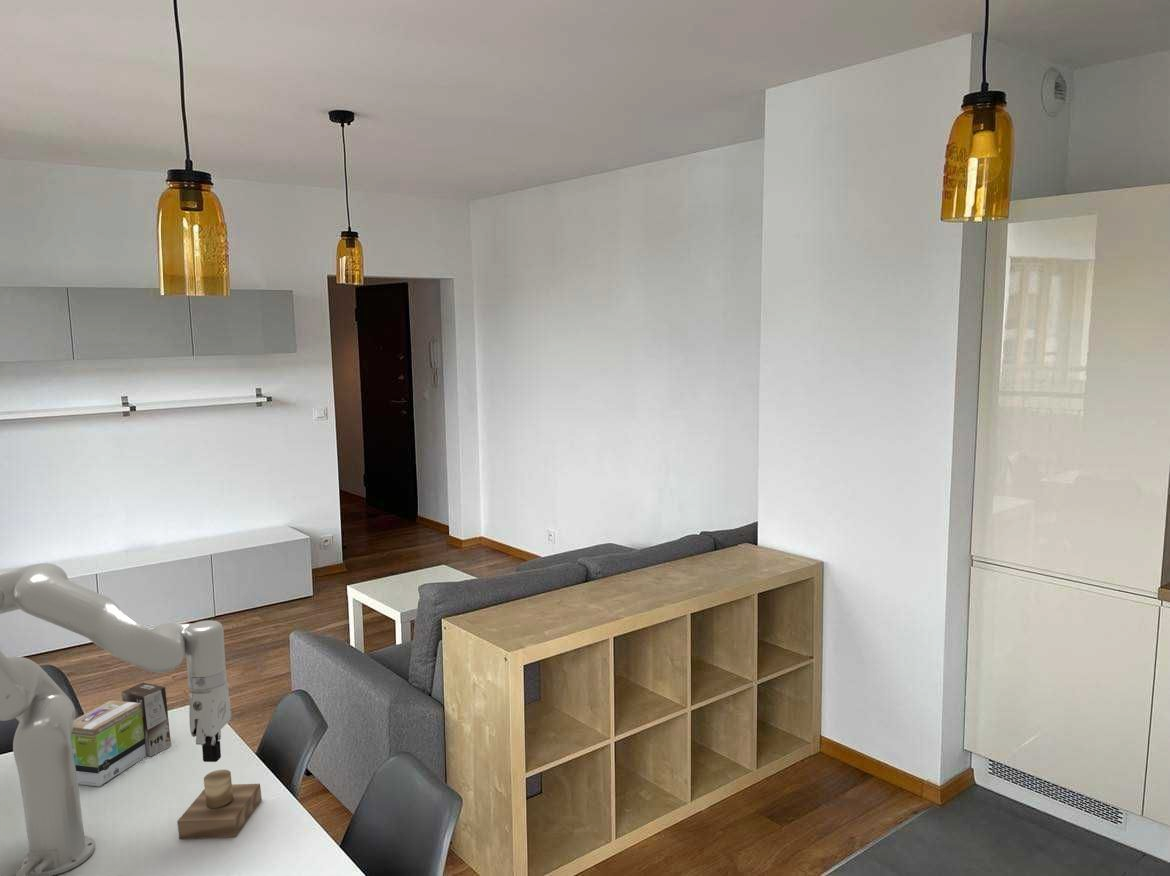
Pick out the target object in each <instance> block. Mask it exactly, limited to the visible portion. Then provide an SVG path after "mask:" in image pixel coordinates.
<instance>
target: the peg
mask: <svg viewBox="0 0 1170 876" xmlns="http://www.w3.org/2000/svg"><path fill="white" fill-rule="evenodd" d="M231 773H232V772H231V771H230V770H229V769H217V770H213V771H211V772H208V774H206V775H205V776H204V777H203V784H204V786H203V787H204V789H205V796H206V806H207V807H208V808H210V809H218V808H222V807H226V806H227V805H229V804H230V803H231V802H232V801H233V791H232V785H233V782H232V774H231Z"/></svg>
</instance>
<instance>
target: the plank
mask: <svg viewBox="0 0 1170 876" xmlns="http://www.w3.org/2000/svg"><path fill="white" fill-rule="evenodd" d="M232 791H233V801H232V802H231V803H230V804H229V805H227V806H226V807H222V808H218V809H210V808H208V807H207V806H206V796H205V788H204V789H203V790H202V791H201V793H200V794H199V795H198V796H197V797H196V798H195V799H194V801H193V802H192V803H191V805H190V806H188V807H187V809H186V810H185V811H184V812H183V814H182V815H181V816H180V818H178V820H176V821H177V830H178V839H179V840H185V839H187V840H189V839H191V840H192V839H213V838H236V837H237V836H238V834H240V831H241V830H242V829H243V827H244V826H245V825H246V823H247V822H248V820H249V819H250V817H251V816H252V814H253V813H254V812H255V811H256V809H257V808H258V806H259V804H260V803H261V802H262V800H263V799H262V790H261V783H242V784H241V783H239V784H238V783H237V784H232Z"/></svg>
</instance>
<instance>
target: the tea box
mask: <svg viewBox="0 0 1170 876" xmlns="http://www.w3.org/2000/svg"><path fill="white" fill-rule="evenodd" d="M71 743H72V750H73V755H74V760H75V766H76V774H77V780H78V785H83V786H90V787H101V786H103V785H104V784H105V783H107V782H109V781H110V780H112V779H113V778H114V777H115V776H117V775H119V774H121V773H122V772H124V771H126V770H127V769H129V768H130V767H132V766H133V765H135V764H136V763H138V762H140V761H142V760H143V759H146V757H147V755H146V747H145V736H144V725H143V714H142V706H141V703H135V702H124V701H123V700H113V699H112V700H108V701H106V702H105V703H103V704H101V705H99V706H97V707H96V708H93V709H91V710H89V711H88V712H86V713H84V714H82V715H79V717H75V721H74V724H73V729H72V733H71ZM141 759H142V760H141Z"/></svg>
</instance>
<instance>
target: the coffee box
mask: <svg viewBox="0 0 1170 876" xmlns="http://www.w3.org/2000/svg"><path fill="white" fill-rule="evenodd" d="M166 693H167V692H166V687H165V686H162V685H158V684H157V685H156V684H152V683H148V682H141V683H138V684H136V685H132V686H131V687H130V688H127V689H125V690H123V691H121V698H122V700H121V701H124V702H135V703H141V706H142V714H143V725H144V736H145V747H146V757H147V756H148V757H152V756H155V755H156V754H158V753H160V752H162V751H164V750H166V749H169V748H171V747H172V742H171V741H172V740H171V733H170V722H169V710H168V701H167V694H166Z"/></svg>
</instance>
